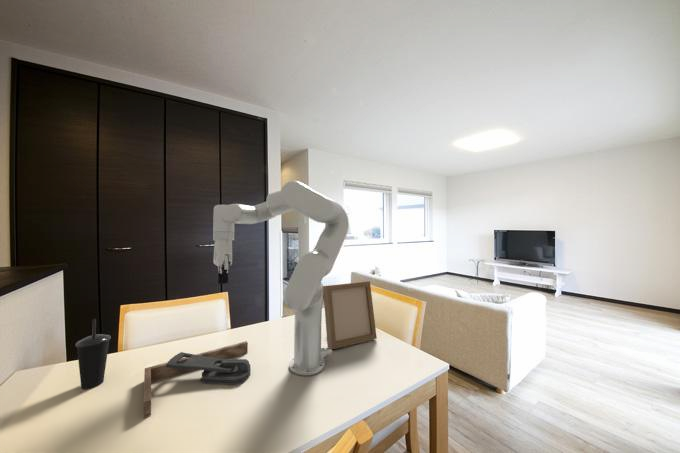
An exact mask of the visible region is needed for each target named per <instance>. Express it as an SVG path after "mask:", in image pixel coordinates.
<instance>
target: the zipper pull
mask: <svg viewBox="0 0 680 453" xmlns="http://www.w3.org/2000/svg"><path fill="white" fill-rule="evenodd" d="M185 357H188V358H189V359H188V360H187V361H186V362H185V363H184V364H176V363H177V362H178V361H179V360H180V359H182V358H185ZM166 363H167V364H166V367H169V368H182V369H191V370H196V371H197V370H199V371H202V372H201V384H203V385H220V386H221V385H222V386H237V385H240V384H244V383H245V382H246V381H247V380H248V379H249V378H250V377H251V371H252V370H251V363H250V361H249V360H248V359H247V358H228V359H217V358H212V357H206V356H200V355H197V354H193V353H188V352H183V351H180V352H178V353H177V354H175V355H174V356H172V357H171V358H170V359H169V360H168V361H167V362H166Z"/></svg>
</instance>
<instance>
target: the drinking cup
mask: <svg viewBox="0 0 680 453" xmlns="http://www.w3.org/2000/svg"><path fill="white" fill-rule="evenodd" d="M96 323H97V319H96V318H93V319H92V331H91V332H92V335H88V336H86V337H84V338H82V339H80V340H78V341H77V342H76V343H75V347H76V349H77V359H78V361H77V362H78V370H79V377H80V387H81V389H82V390H90V389H93V388H95V387H98V386H100V385H102V384H103V383H104V379H105V375H106V374H105V373H106V366H107V359H108V353H109V346H110V345H109V343H110V340H111V338H112V337H111V335H110V334H103V333H100V334H96V330H97V329H96V328H97V324H96Z"/></svg>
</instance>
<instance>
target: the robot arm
mask: <svg viewBox="0 0 680 453" xmlns="http://www.w3.org/2000/svg"><path fill="white" fill-rule="evenodd" d="M295 211H297V212H298V213H300V214H302V215H304V216H306V217H307V218H309V219H311V220H312V221H313V222H317V223H321V224H324V225H325V226H324V228H323V230H322V232H321V233H320V234H319V237H318V239H317V242H316V243H315V245H314V248H313V249H312V250H311V251H308V252H306V253H304V254H303V255H302V256H301V257H300V258H299V260H298V261H297V264H296V265H295V268H294V269H293V272H292V274H291V276H290V278H289V281H288V283H287V286H286V288H285V291H284V295H283V296H284V297H283V298H284V302H285V305H286V307H287V308H288V309H290V311H291V312H292V311H293V312H294V331H293V333H294V335H293V336H294V337H293V338H294V340H293V347H294V348H293V358H291V360H290V361H289V370H290V372H292V373H293V374H295V375H299V376H306V377H307V376H313V375H316V374H318V373H321V372H322V371H323V370H324V369H325V367H326V361H325V358H326V356H329V355H332V354H333V349H330V348H327V349H326V348H325V347H322V317H323V316H322V312H323V303H324V294H323V293H324V290H323V286H324V285H323V282H322V281H323V279H324V278H325V277H326V276H328V275H329V274H330V273H331V271H332V270H333V268H334V266H335V262H336V260H337V259H338V255H339V254H340V252H341V248H342V247H343V244H344V242H345V240H346V238H347V236H348V232H349V227H350V226H349V224H350V223H349V216H348V214H347V211H346V210H345V209H344V208H343V206H342V205H341V204H340V203H339V202H337V201H335V200H334V199H332V198H329V197H327V196H325V195H323V194H321V193H319V192H317V191H315V190H314V189H312V188H311V187H310V186H309V185H307V184H304V183H303V182H300V181H299V180H298V181H297V180H291V181H287V182H285V184H283V185H282V187H281V188H280V190H277V191H274V192H272V193H269V194H267V196H266V201H264V202H261V203H259V204H255V205H247V204H243V203H231V204H216V205H214V207H213V218H212V219H213V222H212V223H213V224H212V225H213V228H212V230H213V231H212V235H213V236H212V240H213V241H214V248H213V264H214V265H215V266H217V267H218V268H217V270H218V273H217V283H218V284H219V285H223V284H224V285H225V284H228V283H229V267H230V266H232V264H233V241H235V224H238V225H254V224H255V225H256V224H258V223H262V222H265V221H270V220H271V219H273V218H276V217H277V216H281V215H284V214H287V213H292V212H295Z"/></svg>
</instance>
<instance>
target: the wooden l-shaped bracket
mask: <svg viewBox="0 0 680 453" xmlns="http://www.w3.org/2000/svg"><path fill="white" fill-rule="evenodd" d="M248 345H249V344H248V341H242V342H238V343H234V344H231V345H227V346H224V347H218V348H216V349H213V350H209V351H205V352H201V353H197V354H196V355H200V356H206V357H212V358H217V359H233V358H235V357H239V356H241V355H245V354H248V352H249V350H248V348H249V347H248ZM188 359H189V358H188V357H183V358H181V359H180V360H179V361H178V362H177V363H176V364H184V363H185V362H186V361H187V360H188ZM166 364H167V362H164V363H160V364H156V365H152V366H149V367H145V368H144V382H143V384H144V386H143V387H144V388H143V418H144V419H145V418H147V417H150V416H152V382H154V381H157V380H162V379H165V378H167V377H170V376H174V375H178V374H180V373H184V372H189V371H190V370H191V371H192V369H182V368H169V367H166Z"/></svg>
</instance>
